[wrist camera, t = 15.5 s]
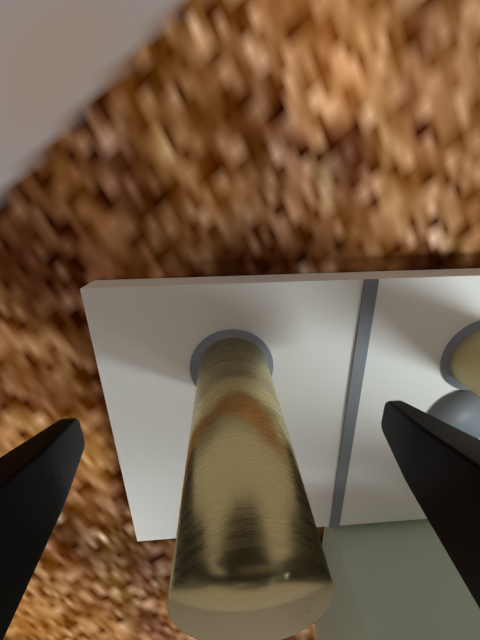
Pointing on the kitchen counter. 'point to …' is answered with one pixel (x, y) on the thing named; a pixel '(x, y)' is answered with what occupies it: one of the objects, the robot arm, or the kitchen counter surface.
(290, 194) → the kitchen counter surface
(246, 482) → the brass pin
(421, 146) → the kitchen counter surface
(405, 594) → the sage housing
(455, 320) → the board
